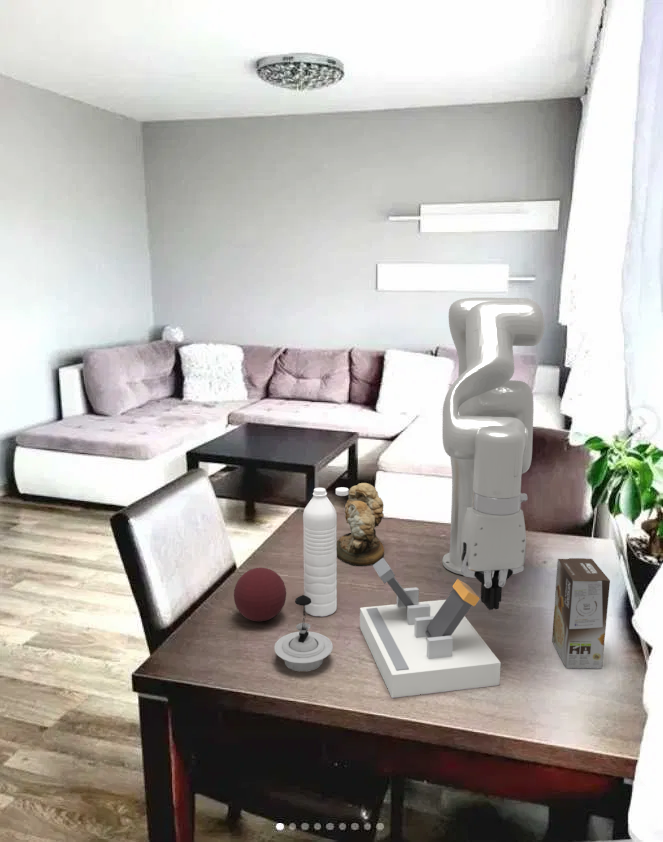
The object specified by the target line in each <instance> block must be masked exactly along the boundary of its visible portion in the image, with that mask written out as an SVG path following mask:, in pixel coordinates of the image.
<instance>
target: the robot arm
mask: <svg viewBox="0 0 663 842" xmlns="http://www.w3.org/2000/svg"><path fill="white" fill-rule="evenodd" d="M448 327H449V331H450V334H451V338H452V342H453V344H454V346H455V350H456V353H457V357H458V358H457V359H458V376H457V378H456V379H455V380H454V382H453V383H452V385H451V386H450V387H449V389H448V391H447V393H446V395H445V397H444V401H443V405H442V444H443V450H444V453H446V454H447V456H449V457H450V465H451V466H450V467H451V507H450V508H451V511H450V512H451V515H450V532H449V533H450V538H449V539H450V540H449V552H447V553H445V554H444V555H443V556H442V562H441V563H442V565H443V567H444V568H445V569H447V570H448V571H449V572H452V573H454V574H456V575H461V576H464V577H467V578H473V579H477V580H478V581H479V582H480V583H481V585H480V601H481V602H482V604H483V605H484V606H485V607H486V608H487V609H488V611H491V610H492V611H493V610H499V609H500V603H501V602H502V591H503V589H502V588H503V587H505V585H506V582H507V581H508V580H509V579H510V578H511V576H513V575H516V574H519V573H521V572H524V570H525V567H524V564H525V562H526V557H527V556H526V554H527V534H526V533H527V532H526V524H525V523H526V522H525V517H524V516H525V515H524V510H523V509H522V503H524V502H527V501H528V495H527V493H525V492H524V493H522V492H521V490H522V475H523V474H525V473H527V472H528V470H529V469H530V467H531V464H532V460H533V458H532V457H533V439H534V437H533V436H534V435H533V434H534V394H533V390H532V389H531V387H530V385H529V384H528V383H527V382H525V381H523V380H517V379H515V380H511V379H512V378H513V376H514V373H515V360H514V349H513V347H534V346H538V345H539V344H540V343H541V341H542V339H543V336H544V333H545V317H544V313H543V310H542V307H541V306H540V304H539V303H538V302H536V301H535V300H533V299H531V298H528V297H468V298H466V297H465V298H461V299H458V300H455V301H453V302H452V304H450V307H449V310H448Z"/></svg>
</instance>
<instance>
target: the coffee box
mask: <svg viewBox="0 0 663 842" xmlns="http://www.w3.org/2000/svg"><path fill="white" fill-rule="evenodd" d="M555 577H556V579H555V580H556V581H555V590H554V591H555V594H554V595H555V596H554V607H553V611H554V612H553V623H552V638H551V642H552V644H553V645H554V648H555V650H556V652H557V654H558V655H559V657H560V659H561V661H562V662H563V665H564V666H565V668H566V669H599V670H601V669H603V660H604V652H605V651H604V649H605V637H606V629H607V619H608V618H607V617H608V607H609V597H610V596H609V594H610V585H611V584H610V583H611V580H610V578H609V577H608V576H607V575H606V573H604V571H602V569H601V568H600V567H599V565H598V564H597V563H596V562H595V560H594V559H592V558H583V557H582V558H579V557H578V558H576V557H575V558H573V557H571V558H557V565H556V576H555Z"/></svg>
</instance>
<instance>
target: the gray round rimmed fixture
mask: <svg viewBox="0 0 663 842" xmlns="http://www.w3.org/2000/svg"><path fill="white" fill-rule="evenodd" d="M294 603H295V604H296V605H298V606H303V607H302V608H303V609H302V613H303V614H302V615H303V619H302V621H303V622H300V623H298V624H296V626H295V628H296V629H297V630H298V631H294V632H290V633H288V634H285V635H283V636H281V637H280V638H278V640H277V641H275V643H274V652H275V655H277V656H278V658H280V659H282V660H283V661H284V665H285V666H286V667H287V668H288V669H290V670H292V671H296V672H300V671H306V672H311V670H312V671H314V670H317V669H318V668H320V667H321V665H322V664H323V662H324V659H325V658H327V657H328V656H329V655H330V654H331V653H332V651H333V649H334V648H333V647H334V646H333V645H334V644H333V643H332V640H331V639H330V638H328V636H325V635H324V634H321V633H319V632H315V631H309V630H310V629H311V627H312V626H311V623H308V622H305V620H306V618H305V617H306V612H305V608H304V607H305V606H304V605H308V604H310V603H311V599H310V598H309V597H307V596H304V594H302V595H299V596H297V597H296V598H295V600H294Z"/></svg>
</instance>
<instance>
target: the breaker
mask: <svg viewBox="0 0 663 842" xmlns="http://www.w3.org/2000/svg"><path fill="white" fill-rule="evenodd" d="M372 567H373V569H374V570H375V572H376V573H377V575H378V577H379V579H380V580H381V581H382V582H383V584H384V585H385V584H386V583H387V584H388V585H389V587H390V588H391V589H392V591H393V592H394V594H396V597H397V596H398V597H399V599H400V600H401V601H402V603H403V604H404V605H405V606H406V608H407V606H410V605H415V604H414V603H413V601H412V600H411V598H410V597H409V596H408V594H407V593H406V592H405V590H404V587H403V586H402V585H401V584H400V583H399V581H398V580H397V578H396V574H395V573H394V571H393V569H392V568H391V566H390V564H388V562H387V561H386V559H385V558H384V557H383V558H382V559H381V560H379V561H378V562H376V563H375V564H374V565H372Z"/></svg>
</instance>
